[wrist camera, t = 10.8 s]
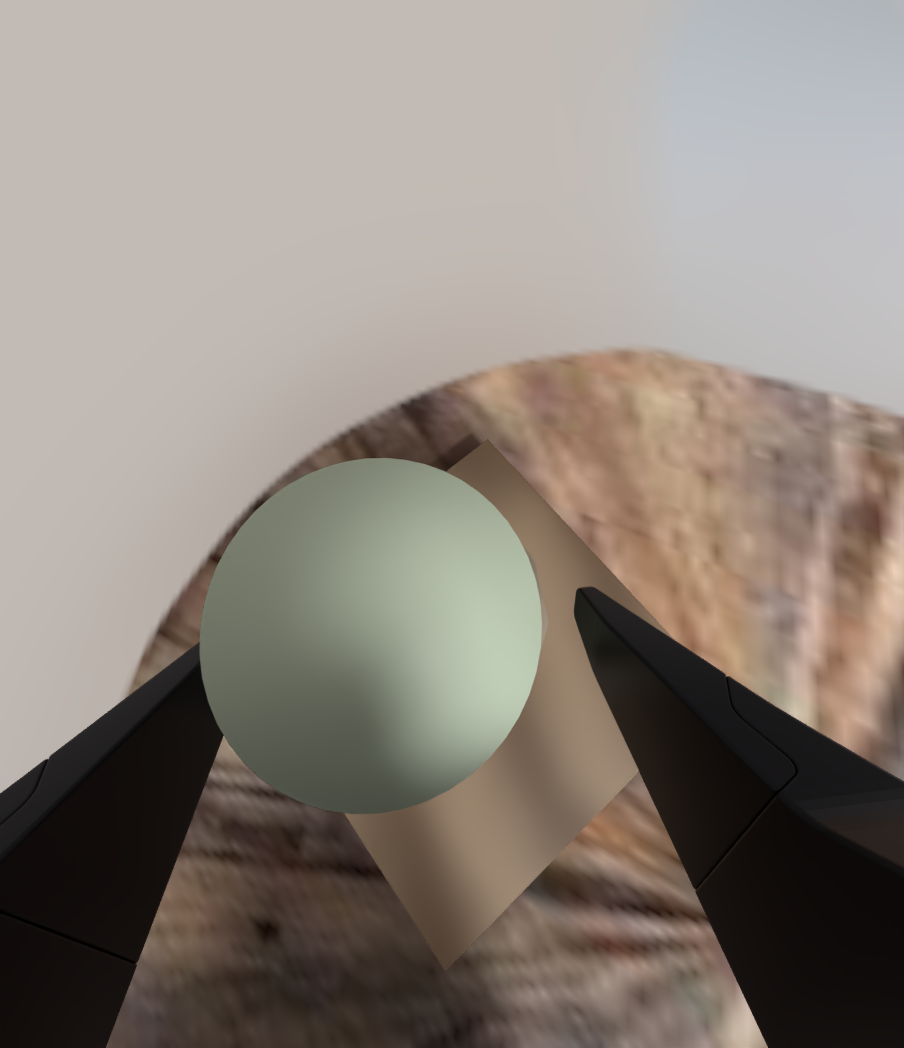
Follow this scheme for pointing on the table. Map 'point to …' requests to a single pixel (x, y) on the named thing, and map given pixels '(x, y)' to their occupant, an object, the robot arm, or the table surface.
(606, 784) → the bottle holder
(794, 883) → the robot arm
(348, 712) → the pale green peg
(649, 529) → the table surface
